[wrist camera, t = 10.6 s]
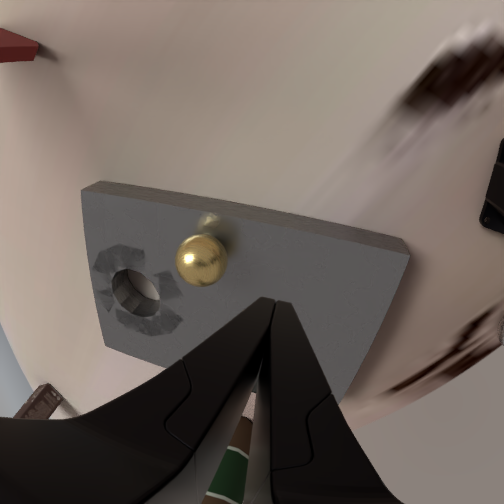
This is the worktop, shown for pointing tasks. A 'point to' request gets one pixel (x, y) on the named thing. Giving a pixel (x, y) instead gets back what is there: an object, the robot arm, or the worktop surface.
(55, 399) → the box
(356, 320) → the plate
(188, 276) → the brass ball
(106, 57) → the worktop surface
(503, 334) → the steel ball
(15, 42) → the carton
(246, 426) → the beer bottle
